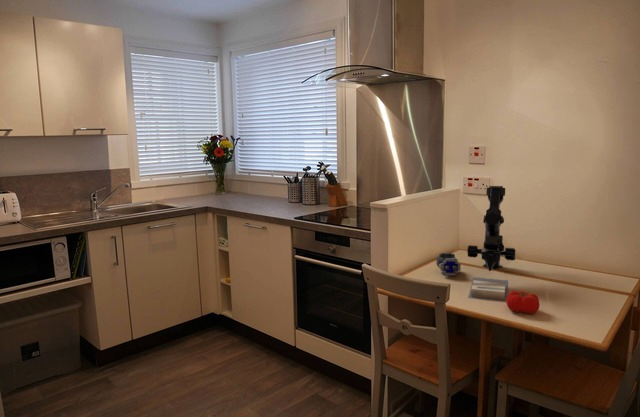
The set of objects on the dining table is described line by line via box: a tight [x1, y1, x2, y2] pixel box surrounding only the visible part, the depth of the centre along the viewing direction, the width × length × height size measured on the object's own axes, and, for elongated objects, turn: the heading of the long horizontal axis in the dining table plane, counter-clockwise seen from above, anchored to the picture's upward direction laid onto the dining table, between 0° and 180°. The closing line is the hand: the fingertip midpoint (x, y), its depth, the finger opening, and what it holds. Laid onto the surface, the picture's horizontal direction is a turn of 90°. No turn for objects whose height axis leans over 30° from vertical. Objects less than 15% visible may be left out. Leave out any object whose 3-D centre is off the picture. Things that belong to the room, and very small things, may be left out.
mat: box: [467, 277, 509, 303], centre depth 190 cm, size 28×14×1 cm, turn 158°
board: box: [470, 280, 505, 300], centre depth 184 cm, size 3×12×12 cm
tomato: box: [505, 290, 540, 315], centre depth 166 cm, size 10×11×6 cm
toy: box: [435, 252, 462, 277], centre depth 211 cm, size 9×9×15 cm
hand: (489, 270), depth 192 cm, fingers closed
